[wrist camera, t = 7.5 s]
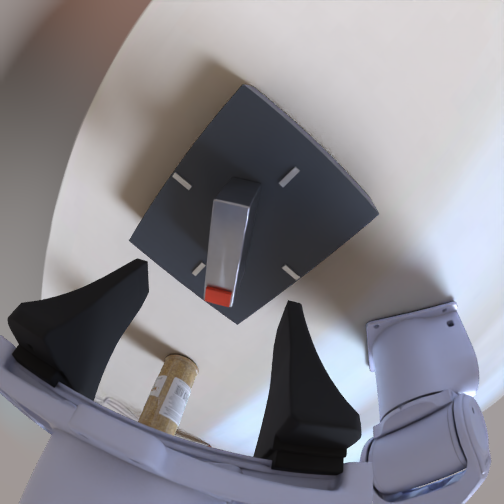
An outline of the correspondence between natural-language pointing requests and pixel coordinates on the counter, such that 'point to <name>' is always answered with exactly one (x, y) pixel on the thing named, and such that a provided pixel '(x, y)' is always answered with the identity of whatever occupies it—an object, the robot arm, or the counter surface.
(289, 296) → the counter surface
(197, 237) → the base
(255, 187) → the tap handle
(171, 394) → the sprinkles bottle
